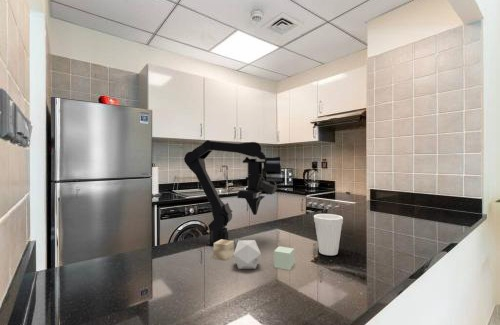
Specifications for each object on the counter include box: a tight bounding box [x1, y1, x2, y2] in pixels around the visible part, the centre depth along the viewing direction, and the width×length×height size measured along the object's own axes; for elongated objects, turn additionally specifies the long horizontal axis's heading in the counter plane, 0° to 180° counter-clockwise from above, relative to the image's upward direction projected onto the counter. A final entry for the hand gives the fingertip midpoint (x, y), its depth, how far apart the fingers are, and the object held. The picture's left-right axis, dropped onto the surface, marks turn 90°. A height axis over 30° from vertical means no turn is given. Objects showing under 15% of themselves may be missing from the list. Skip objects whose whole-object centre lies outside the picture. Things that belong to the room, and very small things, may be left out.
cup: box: [313, 213, 344, 256], centre depth 86 cm, size 10×10×13 cm
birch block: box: [213, 239, 235, 261], centre depth 83 cm, size 5×5×5 cm
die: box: [233, 239, 262, 270], centre depth 74 cm, size 8×9×10 cm
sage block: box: [273, 246, 295, 271], centre depth 75 cm, size 5×5×5 cm
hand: (254, 214), depth 95 cm, fingers closed
